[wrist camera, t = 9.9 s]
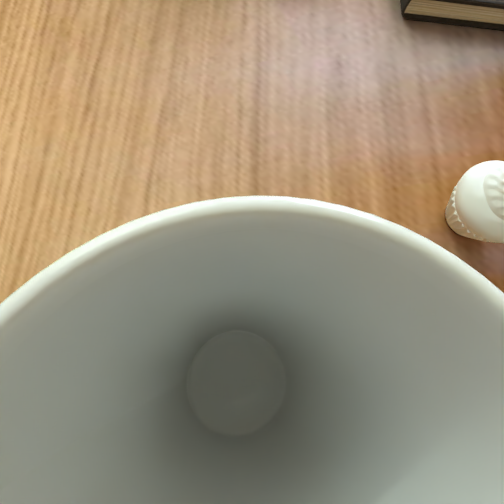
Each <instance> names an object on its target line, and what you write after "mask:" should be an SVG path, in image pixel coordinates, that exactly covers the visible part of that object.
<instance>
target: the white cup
mask: <svg viewBox="0 0 504 504" xmlns="http://www.w3.org/2000/svg"><path fill="white" fill-rule="evenodd" d="M0 504H504V293H503V292H502V291H501V290H500V289H498V288H497V287H496V286H495V285H494V284H493V283H491V282H490V281H489V280H488V279H487V278H486V277H484V276H483V275H482V274H480V273H479V272H478V271H476V270H475V269H474V268H472V267H471V266H469V265H468V264H467V263H465V262H464V261H462V260H461V259H460V258H458V257H457V256H455V255H454V254H452V253H450V252H449V251H447V250H445V249H444V248H442V247H441V246H439V245H437V244H436V243H434V242H432V241H431V240H429V239H427V238H425V237H423V236H421V235H419V234H417V233H415V232H413V231H411V230H409V229H407V228H405V227H403V226H401V225H398V224H396V223H393V222H391V221H388V220H386V219H383V218H381V217H378V216H376V215H373V214H370V213H367V212H363V211H360V210H357V209H353V208H350V207H346V206H343V205H338V204H333V203H328V202H323V201H319V200H313V199H304V198H296V197H287V196H240V197H225V198H218V199H212V200H206V201H199V202H193V203H189V204H185V205H181V206H177V207H173V208H169V209H165V210H162V211H159V212H156V213H153V214H150V215H147V216H144V217H141V218H139V219H136V220H133V221H130V222H128V223H126V224H124V225H121V226H119V227H117V228H115V229H112V230H110V231H108V232H106V233H103V234H101V235H99V236H97V237H96V238H94V239H92V240H90V241H88V242H87V243H85V244H83V245H81V246H79V247H78V248H76V249H74V250H72V251H70V252H69V253H67V254H66V255H64V256H63V257H61V258H60V259H58V260H57V261H55V262H54V263H52V264H51V265H49V266H48V267H46V268H45V269H43V270H42V271H40V272H39V273H37V274H36V275H35V276H34V277H32V278H31V279H30V280H29V281H27V282H26V283H25V284H24V285H22V286H21V287H20V288H18V289H17V290H16V291H15V292H13V293H12V294H11V295H10V296H8V297H7V298H6V299H5V300H4V301H3V302H2V303H1V304H0Z"/></svg>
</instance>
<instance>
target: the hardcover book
mask: <svg viewBox="0 0 504 504" xmlns="http://www.w3.org/2000/svg"><path fill="white" fill-rule="evenodd" d="M401 9H402V16H403V18H404V19H411V20H420V21H428V22H437V23H446V24H454V25H463V26H471V27H480V28H489V29H497V30H504V0H401Z"/></svg>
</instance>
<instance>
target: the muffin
mask: <svg viewBox="0 0 504 504" xmlns="http://www.w3.org/2000/svg"><path fill="white" fill-rule="evenodd" d="M445 214H446V216H445V218H446V219H447V220H446V222H447V223H448V225H449V226H450V228H451V229H453V231H454V232H456V233H457V234H459V235H461V236H464V237H468V238H472V239H476V240H480V241H484V242H492V243H504V161H487V162H483V163H480V164H477V165H475V166H473V167H472V168H470V169H469V170H468V171H467V172H466V173H465V174H464V175H463V176H462V178H461V179H460V181H459V182H458V183H457V186H455V187H454V190H453V192H452V195H451V197H450V199H449V202H448V205H447V207H446V212H445Z"/></svg>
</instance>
